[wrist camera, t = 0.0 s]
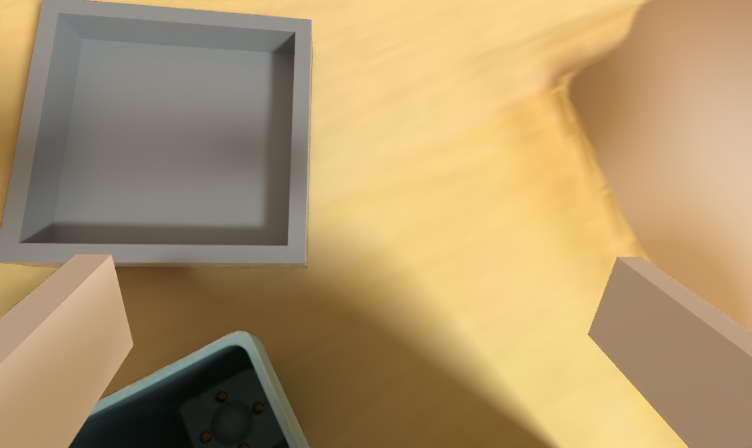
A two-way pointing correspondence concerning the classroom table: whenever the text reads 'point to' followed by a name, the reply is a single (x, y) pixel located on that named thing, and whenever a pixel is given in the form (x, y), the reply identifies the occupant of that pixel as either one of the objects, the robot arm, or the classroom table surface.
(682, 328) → the robot arm
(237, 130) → the slate tray
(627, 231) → the classroom table surface
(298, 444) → the flower pot
